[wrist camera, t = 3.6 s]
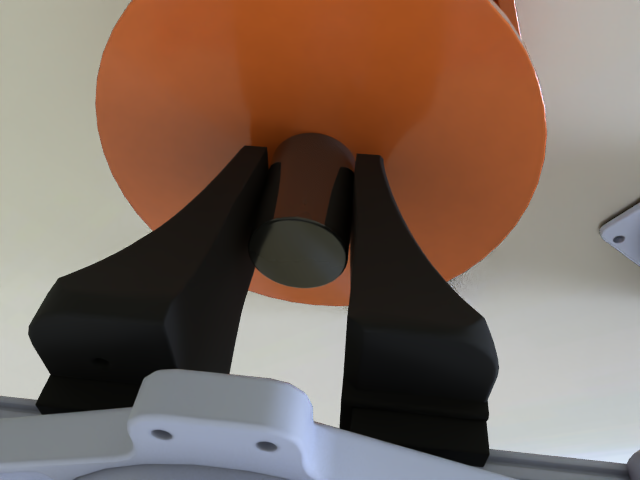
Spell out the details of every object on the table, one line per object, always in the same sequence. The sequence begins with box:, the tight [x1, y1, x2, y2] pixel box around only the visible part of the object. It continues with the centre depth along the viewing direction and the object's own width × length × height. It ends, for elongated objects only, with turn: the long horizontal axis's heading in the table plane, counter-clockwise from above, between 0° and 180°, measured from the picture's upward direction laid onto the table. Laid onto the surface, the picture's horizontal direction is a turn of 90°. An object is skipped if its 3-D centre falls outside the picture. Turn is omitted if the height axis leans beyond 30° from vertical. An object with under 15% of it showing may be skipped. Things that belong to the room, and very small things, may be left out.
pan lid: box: [95, 0, 547, 306], centre depth 15 cm, size 12×12×4 cm
